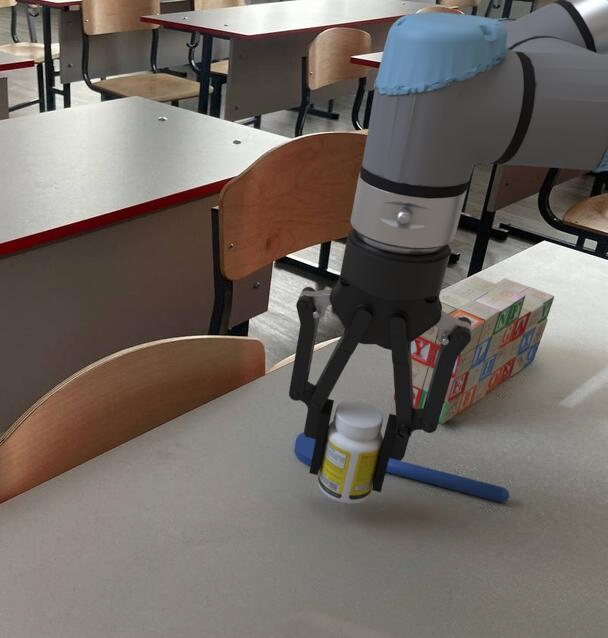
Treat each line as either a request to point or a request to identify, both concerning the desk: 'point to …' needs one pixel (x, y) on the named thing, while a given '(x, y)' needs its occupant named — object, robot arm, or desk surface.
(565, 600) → the desk surface
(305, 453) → the spoon
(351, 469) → the supplement bottle
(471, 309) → the stack of blocks
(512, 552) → the desk surface
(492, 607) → the desk surface
